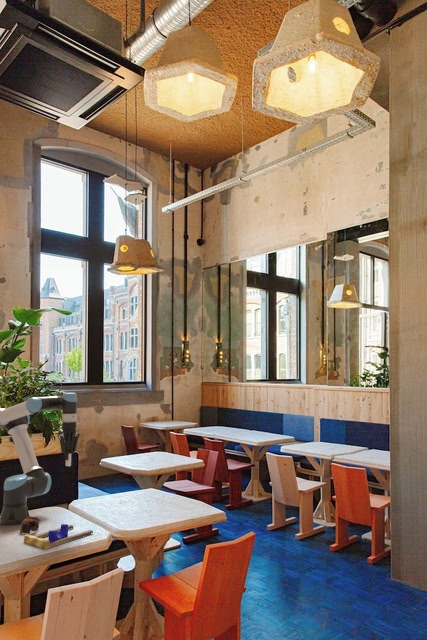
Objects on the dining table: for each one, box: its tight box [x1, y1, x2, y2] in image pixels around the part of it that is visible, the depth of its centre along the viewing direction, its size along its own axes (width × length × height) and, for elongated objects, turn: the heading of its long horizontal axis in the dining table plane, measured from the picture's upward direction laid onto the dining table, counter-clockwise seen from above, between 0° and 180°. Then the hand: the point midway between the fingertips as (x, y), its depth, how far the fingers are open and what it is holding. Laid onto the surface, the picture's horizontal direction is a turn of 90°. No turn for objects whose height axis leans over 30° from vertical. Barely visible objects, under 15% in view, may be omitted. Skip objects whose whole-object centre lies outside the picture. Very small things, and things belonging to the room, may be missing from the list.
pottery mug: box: [19, 515, 40, 535], centre depth 257 cm, size 12×10×8 cm
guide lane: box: [23, 524, 94, 550], centre depth 246 cm, size 17×27×3 cm, turn 144°
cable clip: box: [47, 523, 69, 542], centre depth 243 cm, size 12×4×6 cm, turn 165°
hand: (68, 465), depth 274 cm, fingers closed
